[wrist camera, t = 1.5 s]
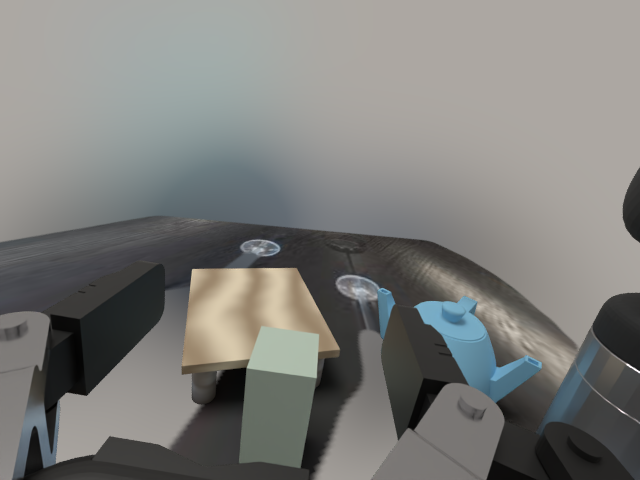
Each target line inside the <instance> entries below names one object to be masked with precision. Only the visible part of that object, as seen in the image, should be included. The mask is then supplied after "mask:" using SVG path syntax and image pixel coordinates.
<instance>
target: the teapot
mask: <svg viewBox="0 0 640 480" xmlns="http://www.w3.org/2000/svg"><path fill="white" fill-rule="evenodd" d="M391 293H392V292H390V291H388V290H386V289H384V288H381V289H379V290H378V291H377V294H378V307H379V320H380V333H381V338H382V339H383V340H384V336H385V332H386V328H387V324H388V321H389V317H390V313H391V310H392V307H393V305H395V302H394V299H393V297H392V295H391ZM476 306H477V301H475V300H472V299H470V298H468V297H466V296H463V297H462V298H461V299H460V300H459V302H458V303H454V302H449V301H445V302H438V301H427V302H423V303H420V304H418V305H417V306H415V307H414V308H417V309H418V311H419V313H420V315H421V317H422V319H423V322H424V324H429V325H431V326H433V327H434V328H435V329H436V330H437V331H438V332H439V333H440V334H441V335H442V336H443V338H444V340H445V342H446V344H447V348H449V349H450V351H451V353H452V357H454V358H455V360H456V362H457V364H458V366H459V368H460V369H461V371H462V373H463V375H464V377H465V379H466V380H467V382H468V384H469V386H471V387H473V388H476V389H477V390H479V391H481V392H483V393H484V394H486V395H487V396H488V397H489V398H491V399H492V400H493V401H494V402H495V403H496V402H497V401H499V400H500V399H502V398H503V397H504V396H506V395H507V394H508V393H510V392H511V391H513V390H514V389H515V388H517V387H518V386H519V385H521V384H522V383H523V382H525V381H526V380H528V379H529V378H530V377H532V376H533V375H534V374H536V373H537V372H539V371H540V370H541V366H542V362H539V361H537V360H535V359H533V358H531V357H529V356H527V355H526V356H525V357H523V358H521V359H519V360H517V361H514V362H512V363H510V364H507V365H505V366H503V367H500V368H498V367H496V360H495V356H494V351H493V348H492V345H491V341H490V338H489V336H488V333H487V331H486V329H485V327H484V325H483V324H482V323H481V322H480V321H479V320H478V319H477V318H476V317H475V316H474V313H475V309H476ZM381 351H382V349H381Z"/></svg>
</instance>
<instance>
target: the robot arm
mask: <svg viewBox="0 0 640 480" xmlns="http://www.w3.org/2000/svg"><path fill="white" fill-rule="evenodd" d="M623 220H624V223H625V227H626V229H627V230H628V232H629V233H630V234H631V236H632V237H633V238H634V239H636V240H637V241H638V242H640V168H639V169H638V171H637V173H636V174H635V176H634V178H633V180H632V181H631V183H630V185H629V188H628V190H627V192H626V195H625V199H624V203H623ZM164 297H165V269H164V266H163V265H162V264H157V263H152V262H146V261H136V262H135V263H133V264H131V265H130V266H128V267H126V268H125V269H123V270H121V271H120V272H116V273H113V274H110V275H107V276H103V277H101V278H99V279H98V280H96V281H94V282H93V283H91V284H89V286H86V287H84V288H82V289H81V290H79V291H78V293H74V294H72V295H70V296H69V297H67V298H65V299H64V300H62V301H60V302H58V303H57V304H55V305H53V306H52V307H50V308H48V309H46V310H45V311H43V312H41V313H39V312H29V311H28V312H15V313H9V314H5V315H1V316H0V480H309V470H308V469H302V468H296V467H290V466H284V465H278V464H272V463H266V462H250V463H239V464H228V465H218V466H202V465H200V464H197V463H195V462H193V461H191V460H189V459H187V458H185V457H183V456H181V455H179V454H177V453H175V452H173V451H171V450H169V449H167V448H165V447H163V446H160V445H158V444H152V443H146V442H140V441H134V440H128V439H122V438H116V437H109V438H108V439H107V440H106V442H105V443H104V444H103V446H102V447H101V448H100V450H99V451H98V452H97V453H96V455H89V456H84V457H79V458H74V459H70V460H67V461H63V462H59V463H57V464H56V452H57V441H58V429H59V418H60V417H59V416H60V401H59V399H60V398H61V397H62V396H63V395H64V394H65V393H73V394H79V395H85V396H87V395H88V394H89V393H90V392H91V391H92V389H94V388H95V387H96V385H98V384H99V383H100V381H101V380H102V379H103V378H104V377H105V376H106V375H107V374H108V373H109V372H110V371H111V370H112V369H113V368H114V367H115V366H116V365H117V364H118V363H119V362H120V361H121V360H122V359H123V358H124V357H125V356H126V355H127V353H129V352H130V351H131V350H132V349H133V348H134V347H135V345H137V343H138V342H139V341H140V340H141V339H142V338H143V337H144V336H145V335H146V334H147V333H148V332H149V331H150V330H151V329H152V328H153V327H154V326H155V325H156V324H157V323H158V322H159V320H160V318H161V316H162V314H163V311H164V303H165V302H164V301H165V298H164ZM381 354H382V355H381V358H382V365H383V370H384V375H385V379H386V384H387V389H388V393H389V399H390V403H391V408H392V412H393V417H394V423H395V427H396V432H397V437H398V442H397V444H396V445H395V447H394V448H393V449H392V451H391V452H390V453H389V455H388V456H387V458H386V459H385V461H384V462H383V463H382V465H381V466H380V468H379V469H378V470H377V472H376V473H375V475H374V476H373V478H372V479H371V480H640V293H625V294H619V295H616V296H613V297H611V298H610V299H608V300H607V301H606V302H605V303H604V305H603V306H602V308H601V310H600V311H599V313H598V315H597V317H596V319H595V321H594V323H593V325H592V326H591V329H590V330H589V332H588V334H587V336H586V338H585V340H584V342H583V344H582V346H581V347H580V349H579V351H578V353H577V355H576V357H575V359H574V361H573V363H572V365H571V367H570V369H569V371H568V373H567V374H566V376H565V378H564V380H563V382H562V384H561V386H560V388H559V390H558V392H557V394H556V395H555V397H554V399H553V401H552V403H551V405H550V407H549V409H548V411H547V413H546V414H545V416H544V418H543V420H542V422H541V424H540V426H539V428H538V430H537V432H536V433H534V432H532V431H529V430H527V429H524V428H522V427H519V426H517V425H514V424H512V423H510V422H508V421H505V420H504V416H503V413H502V411H501V410H500V408H499V407H498V406H497V404H496V403H495V402H494V401H493V400H492V399H491V398H489V397H488V396H487V395H486V394H484V393H483V392H481V391H479V390H477V389H476V388H473V387H471V386H469V384H468V382H467V380H466V379H465V377H464V375H463V373H462V371H461V369H460V368H459V366H458V364H457V362H456V360H455V358H454V357H452V353H451V351H450V349H449V348H447V344H446V342H445V340H444V338H443V336H442V335H441V334H440V333H439V332H438V331H437V330H436V329H435V328H434V327H433V326H431V325H429V324H424V322H423V319H422V317H421V315H420V313H419V311H418V309H417V308H414V307H408V306H402V305H396V304H395V305H393V307H392V310H391V313H390V317H389V321H388V324H387V328H386V332H385V336H384V340H383V344H382V351H381Z"/></svg>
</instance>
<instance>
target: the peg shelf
mask: <svg viewBox="0 0 640 480" xmlns="http://www.w3.org/2000/svg"><path fill="white" fill-rule="evenodd" d="M261 326H265V327H272V328H279V329H286V330H293V331H300V332H307V333H314V334H319V346H318V363H317V379H316V384H315V388H316V387H318V386H319V384H320V381H321V375H322V370H323V365H324V359H325V358H332V357H339V352H340V349H339V347H338V345H337V343H336V341H335V339H334V337H333V336H332V334H331V332H330V330H329V328H328V326H327V324H326V322H325V321H324V319H323V317H322V315H321V313H320V311H319V309H318V308H317V306H316V304H315V302H314V300H313V298H312V296H311V295H310V293H309V291H308V289H307V287H306V285H305V283H304V281H303V280H302V278H301V276H300V274H299V272H298V270H297V268H257V269H192V277H191V287H190V296H189V305H188V314H187V323H186V333H185V342H184V350H183V359H182V374H190V373H192V400H193V401H194V402H195V403H197V404H206V403H209V402H211V401H212V400H213V399H214V397H215V395H216V373H217V371H218V370H227V369H235V368H244V367H247V366H248V363H249V360H250V357H251V354H252V351H253V349H254V346H255V343H256V340H257V337H258V334H259V331H260V329H261Z"/></svg>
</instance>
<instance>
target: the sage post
mask: <svg viewBox="0 0 640 480" xmlns="http://www.w3.org/2000/svg"><path fill="white" fill-rule="evenodd" d="M318 346H319V334H314V333H307V332H300V331H293V330H286V329H279V328H272V327H265V326H261V329H260V331H259V334H258V337H257V340H256V343H255V346H254V349H253V351H252V354H251V357H250V360H249V363H248V366H247V370H246V382H245V395H244V407H243V419H242V432H241V444H240V457H239V463H250V462H266V463H272V464H278V465H284V466H290V467H296V468H301V462H302V457H303V451H304V445H305V440H306V434H307V429H308V423H309V418H310V412H311V407H312V401H313V395H314V390H315V384H316V379H317V363H318Z"/></svg>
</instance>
